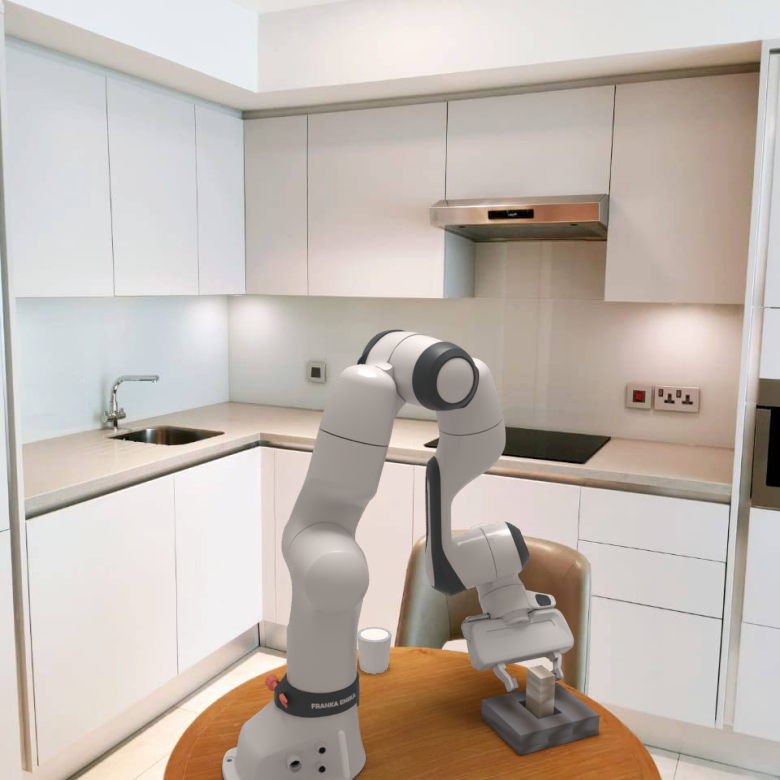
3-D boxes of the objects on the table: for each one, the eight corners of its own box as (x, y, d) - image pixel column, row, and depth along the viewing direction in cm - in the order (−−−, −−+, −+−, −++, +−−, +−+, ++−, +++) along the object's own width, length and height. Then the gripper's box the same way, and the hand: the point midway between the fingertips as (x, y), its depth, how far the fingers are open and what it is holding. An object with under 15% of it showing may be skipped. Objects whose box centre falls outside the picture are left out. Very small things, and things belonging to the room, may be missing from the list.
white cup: (390, 659, 159) (391, 626, 158) (391, 675, 152) (392, 641, 151) (356, 659, 159) (357, 626, 158) (356, 675, 152) (356, 641, 151)
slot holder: (519, 755, 127) (520, 735, 126) (481, 718, 137) (481, 699, 137) (598, 734, 133) (599, 714, 133) (555, 700, 144) (556, 682, 144)
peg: (538, 728, 133) (540, 678, 132) (525, 716, 136) (527, 668, 135) (552, 724, 134) (555, 675, 133) (539, 713, 138) (541, 665, 136)
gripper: (464, 611, 136) (492, 690, 129) (560, 594, 145) (592, 668, 137) (451, 625, 141) (477, 702, 133) (545, 608, 149) (574, 680, 142)
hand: (536, 684), depth 135 cm, fingers open, 8 cm apart
